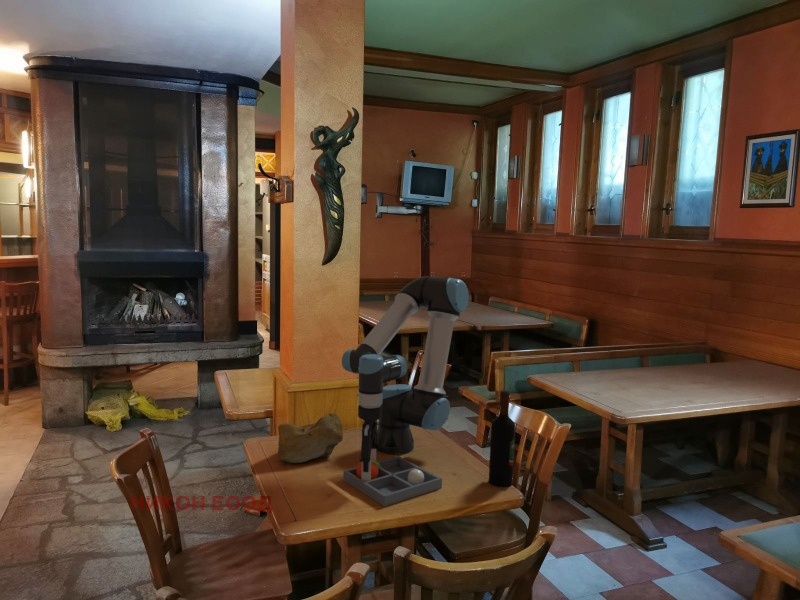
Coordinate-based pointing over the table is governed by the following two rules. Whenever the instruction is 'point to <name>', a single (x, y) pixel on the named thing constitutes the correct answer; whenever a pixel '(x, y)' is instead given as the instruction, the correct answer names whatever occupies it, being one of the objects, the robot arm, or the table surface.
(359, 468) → the clementine
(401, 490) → the divided tray
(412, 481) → the cream egg
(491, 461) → the wine bottle
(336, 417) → the rough brown rock
